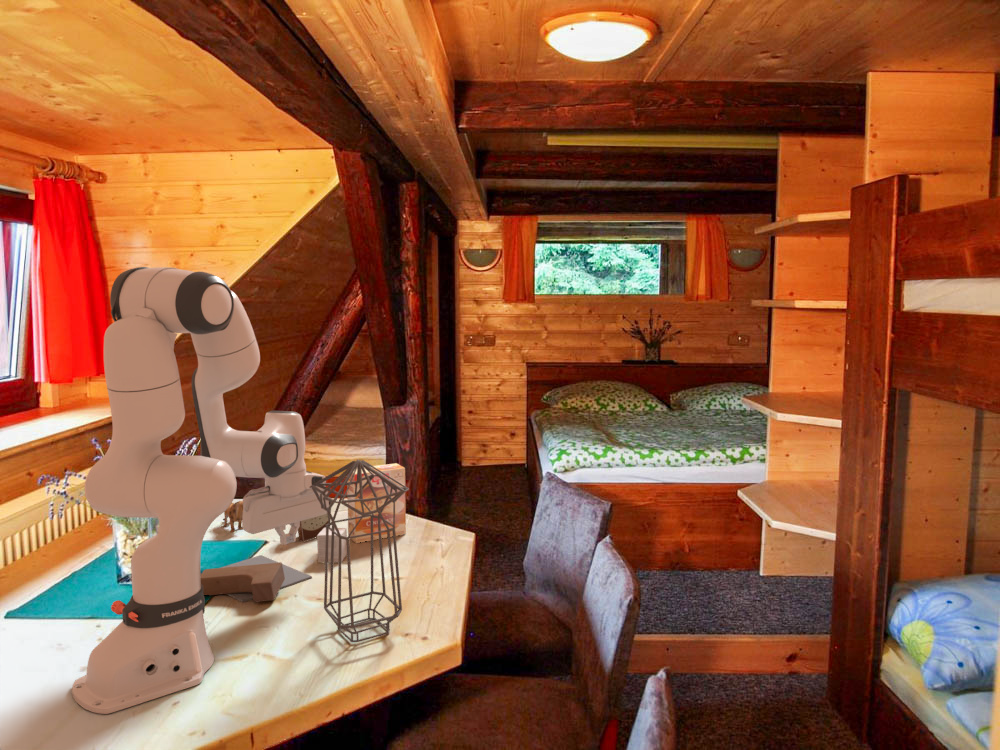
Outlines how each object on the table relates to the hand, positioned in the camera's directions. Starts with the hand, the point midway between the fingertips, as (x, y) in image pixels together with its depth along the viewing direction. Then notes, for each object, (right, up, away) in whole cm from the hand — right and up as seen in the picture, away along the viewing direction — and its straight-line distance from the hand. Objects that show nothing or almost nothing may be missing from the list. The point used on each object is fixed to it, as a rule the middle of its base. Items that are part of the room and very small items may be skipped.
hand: (288, 542), depth 158 cm
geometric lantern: (+20, -14, -16) cm, 29 cm away
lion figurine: (-30, -7, +49) cm, 58 cm away
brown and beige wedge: (-6, -8, +42) cm, 43 cm away
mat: (-12, -11, +11) cm, 20 cm away
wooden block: (-2, -8, 0) cm, 9 cm away
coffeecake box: (+13, -8, +41) cm, 44 cm away
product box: (+4, -10, +24) cm, 26 cm away
